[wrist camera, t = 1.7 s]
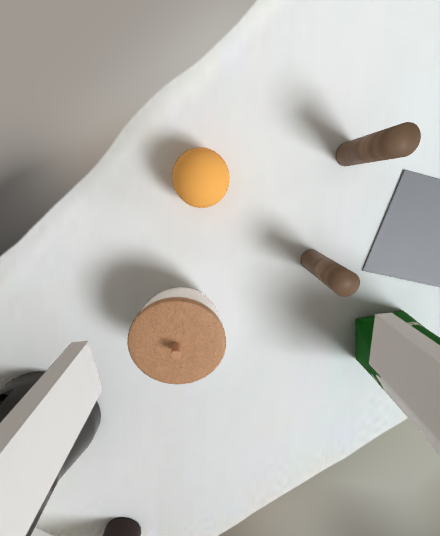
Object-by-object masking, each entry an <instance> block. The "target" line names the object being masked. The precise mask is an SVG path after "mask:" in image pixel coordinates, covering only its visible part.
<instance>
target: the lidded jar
mask: <svg viewBox="0 0 440 536" xmlns="http://www.w3.org/2000/svg"><path fill="white" fill-rule="evenodd" d="M225 348H226V337H225V331H224V328H223V324H222V319H221V317H220V314H219V312H218V310H217V308H216V306H215V305H214V303H213V302H212V301H211V300H210V299H209V298H208V297H207V296H206V295H204V294H202V293H201V292H199V291H197V290H194V289H191V288H184V287H177V288H171V289H167V290H164V291H162V292H160V293H158V294H157V295H156V296H154V297H153V298H152V299H150V300H149V301H148V303H147V304H146V305H145V306H144V307H143V308H142V310H141V311H140V313H139V314H138V315H137V316H136V318H135V319H134V321H133V323H132V325H131V327H130V329H129V333H128V350H129V353H130V356H131V358H132V359H133V361H134V363H135V364H136V365H137V367H138V368H139V369H140V370H141V371H142V372H144V373H145V374H146V375H148V376H149V377H151V378H153V379H155V380H158V381H160V382H164V383H169V384H186V383H191V382H194V381H198V380H200V379H202V378H204V377H206V376H207V375H209V374H210V373H211V372H212V371H213V370H215V368H216V367H217V366H218V365H219V363H220V362H221V360H222V358H223V356H224V353H225Z"/></svg>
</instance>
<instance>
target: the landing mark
mask: <svg viewBox="0 0 440 536" xmlns="http://www.w3.org/2000/svg"><path fill="white" fill-rule="evenodd" d="M363 271H367V272H372V273H376V274H381V275H386V276H390V277H395V278H400V279H404V280H409V281H414V282H418V283H423V284H428V285H432V286H437V287H440V179H437V178H433V177H429V176H426V175H422V174H418V173H415V172H411V171H407V170H404V171H403V173H402V176H401V178H400V181H399V183H398V185H397V188H396V190H395V193H394V195H393V197H392V200H391V202H390V205H389V207H388V209H387V212H386V214H385V217H384V219H383V222H382V224H381V226H380V229H379V231H378V234H377V236H376V238H375V241H374V243H373V246H372V248H371V250H370V253H369V255H368V258H367V260H366V262H365V265H364V267H363Z"/></svg>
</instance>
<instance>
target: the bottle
mask: <svg viewBox="0 0 440 536" xmlns="http://www.w3.org/2000/svg"><path fill="white" fill-rule="evenodd" d="M140 535H141V527H140V526H139V524H138V523H137V522H136V521H134V520H132V519H128V518H119V519H115V520H113V521H111V522H110V523H109V524H107V526H106V528H105V531H104V534H103V536H140Z"/></svg>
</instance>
